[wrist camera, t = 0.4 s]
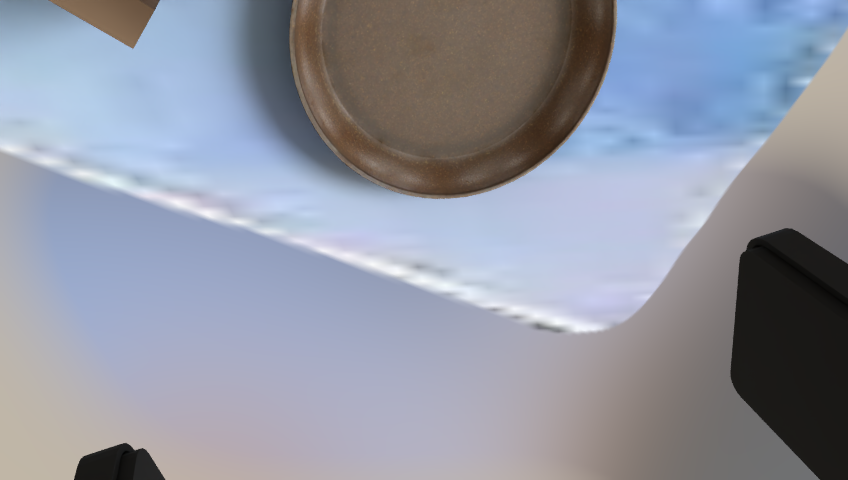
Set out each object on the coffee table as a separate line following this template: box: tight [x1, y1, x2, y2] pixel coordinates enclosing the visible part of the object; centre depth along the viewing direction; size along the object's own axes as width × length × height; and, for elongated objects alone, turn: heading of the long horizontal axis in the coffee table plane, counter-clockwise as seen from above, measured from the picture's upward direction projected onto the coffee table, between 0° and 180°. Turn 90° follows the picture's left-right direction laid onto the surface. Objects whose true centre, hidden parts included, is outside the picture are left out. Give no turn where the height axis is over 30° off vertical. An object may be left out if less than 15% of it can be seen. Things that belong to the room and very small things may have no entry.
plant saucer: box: [289, 0, 617, 199], centre depth 41 cm, size 21×21×3 cm
